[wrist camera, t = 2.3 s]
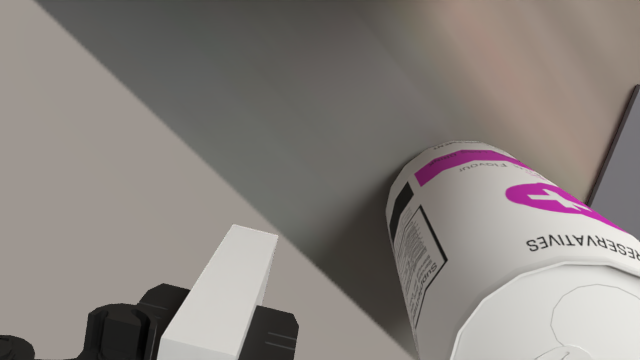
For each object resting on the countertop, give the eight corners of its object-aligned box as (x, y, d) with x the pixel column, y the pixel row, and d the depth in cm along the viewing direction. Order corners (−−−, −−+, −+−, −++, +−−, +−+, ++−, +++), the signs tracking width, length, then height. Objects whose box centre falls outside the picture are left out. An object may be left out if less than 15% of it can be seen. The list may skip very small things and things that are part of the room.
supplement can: (454, 107, 27) (578, 178, 13) (559, 202, 29) (783, 365, 14) (355, 213, 29) (368, 380, 15) (458, 299, 30) (563, 530, 16)
